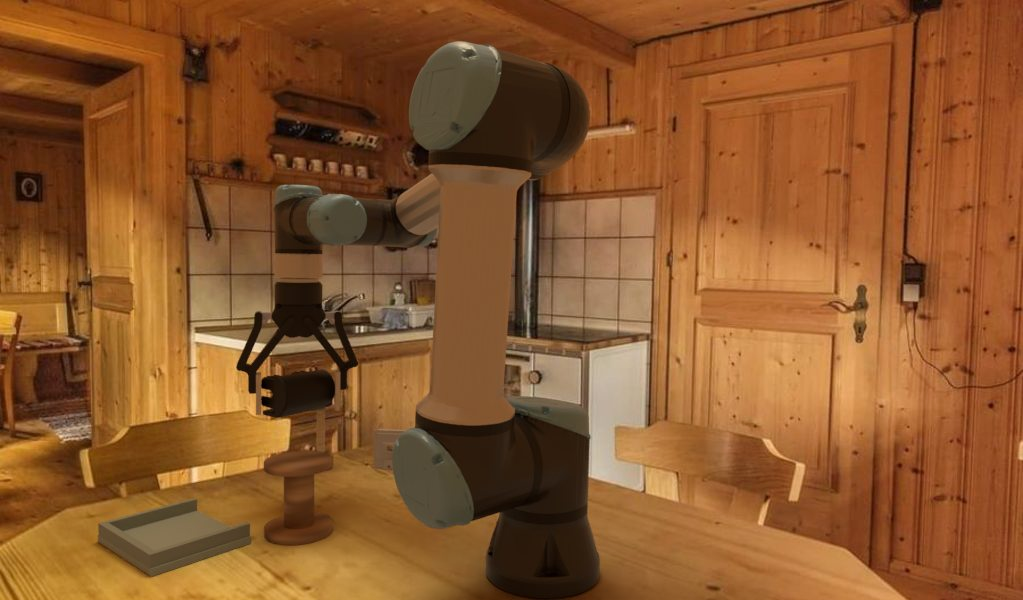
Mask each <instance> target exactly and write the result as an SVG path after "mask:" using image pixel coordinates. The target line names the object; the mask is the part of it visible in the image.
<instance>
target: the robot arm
mask: <svg viewBox="0 0 1023 600" xmlns="http://www.w3.org/2000/svg"><path fill="white" fill-rule="evenodd" d="M590 112H591V111H590V105H589V101H588V97H587V95H586V92H585V90H584V88H583V87H582V85H581V84H580V82H579V81H578V80H577V79H576V78H575V77H574V76H573V75H572V74H571V73H569V72H568V71H567V70H565V69H564V68H561V67H560V66H558V65H555V64H551V63H547V62H542V61H540V60H539V61H538V60H535V59H532V58H529V57H525V56H522V55H520V54H516V53H512V52H510V51H505V50H503V49H499V48H496V47H495V46H492V45H490V44H476V43H474V42H473V43H472V42H468V41H463V40H462V41H460V40H459V41H452V42H449V43H447V44H445V45H443V46H441V47H439V48H438V49H436V50H435V51H434V52H433V53H432V54H431V55H430V57H429V58H428V59H427V61H426V62H425V64H424V66H422V67H421V69H420V71H419V73H418V75H417V77H416V79H415V81H414V84H413V87H412V90H411V94H410V99H409V106H408V122H409V128H410V130H411V131H412V132H413V133H412V137H413V138H414V141H415V142H416V143H417V144H419V145H420V146H421V147H422V148H423V149H425V150H427V151H429V152H428V163H427V165H428V168H427V169H428V171H429V172H430V173H429V175H428V176H426V177H424V178H423V179H422V180H420V181H418V182H417V183H416V184H415V185H412V186H411V187H410V188H409V189H407V190H405V191H403V192H402V193H401V194H400V195H398V196H396V197H395V198H393V199H379V198H378V199H377V198H368V197H367V198H365V197H364V198H363V197H356V196H354V197H353V196H351V195H348V194H342V193H328V194H323V191H322V188H321V187H318V186H315V185H308V184H281V185H278V186H277V188H276V189H275V192H274V193H275V194H274V195H275V196H274V205H273V212H274V278H276V279H278V281H276V282H275V283H274V308H273V311H272V312H266V311H264V312H262V311H261V310H257V311H255V313H254V314H253V327H252V329H251V331H250V333H249V336H248V338H247V340H246V342H245V345H244V347H243V349H242V352H241V354H240V356H239V357H238V358H239V359H238V361H237V362H236V365H235V366H236V367H235V368H236V370H237V371H238V372H244V373H246V374H247V376H248V377H247V378H248V379H247V380H248V381H247V382H248V384H247V385H248V386H247V387H248V388H247V389H248V391H247V392H248V393H249V394H250V395H255V415H256V416H261V415H262V404H261V396H262V388H261V380H262V372H261V371H259V372H258V370H259V369H260V368H261V366H262V365H263V364H264V363H265V361H267V359H268V357H269V356H270V354H271V353H272V352H273V350H275V348H276V346H277V345H278V344H279V343H280V342H281V341H282V340H283V338H284V337H287V338H292V339H294V338H298V337H300V338H309V337H311V336H314V338H315V339H316V340H317V341H318V343H319V344H320V345H321V346H322V348H323V349H324V351H326V353H327V354H328V356H329V357H330V359H331V360H333V362H334V363H335V365H336V366H337V367H338V369H334V370H333V371H334V372H333V374H334V375H333V377H334V378H333V380H334V384H335V394H334V397H333V404H334V405H333V407H334V408H333V409H334V410H335V411H336V412H339V411H341V391H342V390H347V387H348V371H349V370H350V369H352V368H356V367H358V366H359V361H358V359H357V357H356V354H355V352H354V349H353V347H352V345H351V342H350V340H349V337H348V336H347V335H348V334H347V333H346V330H345V328H344V325H343V314H342V312H341V311H340V310H334V311H325V310H324V309H323V284H322V282H320V279H323V273H324V272H323V270H324V269H323V267H324V266H323V265H324V264H323V260H324V258H323V257H324V256H323V254H324V253H323V252H324V251H323V249H324V248H323V246H331V247H333V246H366V247H369V246H370V247H394V248H407V249H412V248H416V247H417V248H419V247H422V248H423V247H426V246H428V245H430V244H431V243H432V242H433V240H434V239H433V238H434V237H436V236H437V250H436V251H437V252H436V253H437V255H436V271H435V287H434V289H435V293H434V310H433V311H434V312H433V329H432V330H433V331H432V344H431V345H432V346H431V347H432V348H431V367H430V385H429V392H427V394H426V395H425V396H424V397H423V398H422V399H421V400H419V402H417V404H416V405H415V413H414V414H415V416H414V427H410V428H408V429H405V430H406V431H405V432H403V433H401V434H400V436H399V437H398V439H397V440H396V442H395V444H394V447H393V446H392V449H393V453H392V465H393V469H392V470H393V478H394V483H395V484H396V488H397V490H398V493H399V496H400V497H401V499H402V501H403V503H404V505H405V506H406V508H407V510H408V511H409V512H410V513H411V515H412V516H413V517H414V518H415V519H416V520H417V521H418V522H419V523H421V524H423V525H424V526H426V527H428V528H431V529H434V530H444V529H448V528H452V527H457V526H460V527H461V526H467V525H469V524H470V523H471V522H475V521H477V520H481V519H483V518H487V517H489V516H494V515H496V514H498V518H497V521H496V524H495V527H494V529H493V533H492V536H491V537H490V541H489V545H488V548H487V550H486V554H485V574H486V577H487V578H488V580H489V581H490V582H491V583H492V584H493V585H495V586H496V587H497V588H499V589H500V590H503V591H505V592H507V593H511V594H513V595H517V596H522V597H526V598H527V597H528V598H534V599H559V598H566V597H571V596H576V595H579V594H581V593H584V592H586V591H589V590H590V589H591V588H593V587H594V586H595V585H596V584H597V583H598V582H599V580H600V576H601V574H600V573H601V559H600V558H601V557H600V554H599V551H598V549H597V545H596V541H595V538H594V534H593V531H592V527H591V524H590V521H589V520H590V519H589V516H588V515H589V514H588V513H589V512H588V506H589V505H588V504H589V501H588V500H589V474H590V473H589V471H590V447H591V446H590V445H591V444H590V440H591V438H592V436H591V433H590V421H589V420H590V418H589V414H588V411H586V409H585V408H584V407H583V406H582V405H579V404H577V403H573V402H570V401H564V400H560V399H555V398H554V399H553V398H547V397H538V396H528V395H527V396H523V395H515V396H514V395H513V396H512V395H509V396H506V397H505V396H504V390H505V389H504V387H505V386H504V385H505V373H506V371H505V370H506V358H507V357H506V356H507V343H508V341H507V340H508V326H509V325H508V324H509V311H510V297H511V285H512V284H511V281H512V269H513V268H512V266H513V265H512V264H513V255H514V254H513V253H514V240H515V239H514V238H515V235H514V234H515V223H516V222H515V221H516V206H517V192H518V190H519V189H520V187H521V186H522V185H524V183H525V182H526V181H528V180H529V181H536V180H540V179H542V178H543V177H545V176H548V175H549V174H551V173H553V172H554V171H556V170H558V169H559V168H561V167H562V166H564V165H565V164H567V163H568V162H569V161H570V160H571V159H572V158H573V157H575V156H576V155H577V153H578V152H579V150H580V149H581V147H582V146H583V144H584V142H585V140H586V139H587V136H588V133H589V128H590V123H591V119H590V118H591V113H590ZM437 232H438V235H437ZM269 320H272V321H273V323H274V324H275V326H277V329H276V331H275V332H274V333H273V335H272V336H271V337H270V339H269V340H268V341H267V343H266V344H265V345H264V347H263V348H262V349H261V351H259V353H258V355H257V356H256V357H255V358H254V359H253V361H252V362H251V363H248V361H249V358H250V355H251V354H252V351H253V349H254V347H255V345H256V341H257V339H258V338H259V335H260V333H261V330H262V327H263V326H265V325H267V324H268V322H269ZM325 320H328V322H329V323H330V325H332V326H334V327H333V328H334V330H335V333H336V334H337V336H338V339H339V341H340V343H341V346H342V347H343V352H344V353H345V356H346V357H347V359H348V360H346V361H344V360H343V358H342V357H341V356H340V355H339V353H338V352H337V351H336V350H335V348H334V346H333V345H331V343H330V341H328V339H327V338H326V336H325V335H324V333H323V332H322V331H321V330H320V329H319V328H320V326H321V325H322V324H323V322H324V321H325Z"/></svg>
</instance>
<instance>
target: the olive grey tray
mask: <svg viewBox="0 0 1023 600" xmlns="http://www.w3.org/2000/svg"><path fill="white" fill-rule="evenodd" d="M97 527H98V534H97V542H98V543H99V544H100V545H102V546H104V547H105V548H106V549H109V551H111V552H112V553H114V554H116V555H117V556H119V557H120V558H121V559H124V560H125V561H126V562H128V563H129V564H131V565H133V566H134V567H135V568H138V570H140V571H141V572H144V573H145V574H146V575H147V576H149V577H151V578H152V577H154V576H157V575H160V574H164V573H166V572H169V571H172V570H176V569H179V568H182V567H184V566H187V565H188V566H189V564H193V563H196V562H199V561H202V560H205V559H208V558H212V557H214V556H218V555H220V554H223V553H226V552H229V551H232V550H236V549H238V548H241V547H244V546H247V545H249V544H252V536H251V523H249V522H247V521H246V522H243V523H239V524H236V525H233V526H231V525H228V524H227V523H224V522H223V521H220V520H218V519H215V518H214V517H212V516H209V515H208V514H205V513H204V512H201V511H199V510H198V499H197V498H194V497H193V498H188V499H185V500H181V501H178V502H175V503H171V504H170V503H169V504H166V505H163V506H159V507H155V508H151V509H148V510H143V511H140V512H135V513H132V514H128V515H124V516H120V517H115V518H113V519H109V520H105V521H101V522H99V523H98V525H97Z"/></svg>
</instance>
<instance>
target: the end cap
mask: <svg viewBox="0 0 1023 600" xmlns="http://www.w3.org/2000/svg"><path fill="white" fill-rule="evenodd" d="M261 390H268V391H270V392H271V393H272V394H271V395H272V397H271V396H267V395H266V396H265V395H261V407H265V408H267V409H264V410H262V415H263V416H265V417H271V418H274V419H280V418H284V417H285V418H286V417H289V416H293V415H298V414H303V413H308V412H311V411H316V410H317V409H322V408H324V407H325V406H326V405H327V404H329V403H330V402H331V401H332V402H333V400H334V394H335V384H334V378H333V376H332V375H331V373H330V372H329V371H327V370H326V369H316V370H310V371H308V370H307V371H306V370H300V371H294V372H291V374H285V375H281V374H274V375H267V376H264V377H261ZM325 408H326V407H325Z"/></svg>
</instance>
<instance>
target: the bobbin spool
mask: <svg viewBox="0 0 1023 600" xmlns="http://www.w3.org/2000/svg"><path fill="white" fill-rule="evenodd" d="M333 466H334V456H333V455H332V454H330V453H329V452H326V451H325V452H320V451H317V450H294V451H287V452H282V453H278V454H277V453H276V454H274V455H271V456H269V457H267V458H266V459H265V460H264V461H263V471H264V472H265V473H266V474H267V475H268V474H269V475H271V476H276V477H283V514H281V515H277V516H275V517H274V518H271V519H269V520H268V521H267V522H265V524H264V526H263V537H264V539H265V540H266V541H267V542H269V543H272V544H274V545H281V546H299V545H307V544H311V543H316V542H318V541H321V540H323V539H325V538H327V537H329V536H330V535H332V533H333V532H334V519H333V517H332V516H330V515H328V514H327V513H323V512H318V511H317V512H316V511H315V475H317V474H321V473H324V472H326V471H329V470H331V469H332V468H333ZM330 468H331V469H330Z"/></svg>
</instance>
